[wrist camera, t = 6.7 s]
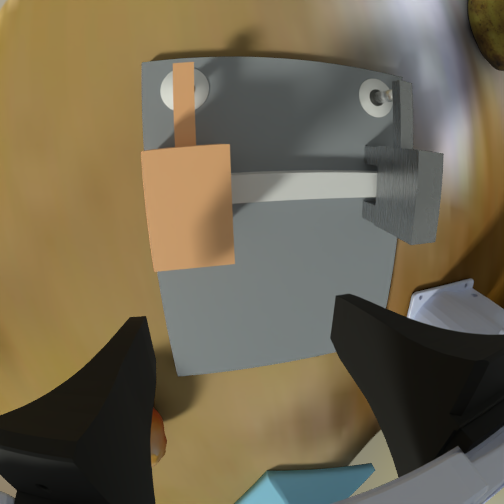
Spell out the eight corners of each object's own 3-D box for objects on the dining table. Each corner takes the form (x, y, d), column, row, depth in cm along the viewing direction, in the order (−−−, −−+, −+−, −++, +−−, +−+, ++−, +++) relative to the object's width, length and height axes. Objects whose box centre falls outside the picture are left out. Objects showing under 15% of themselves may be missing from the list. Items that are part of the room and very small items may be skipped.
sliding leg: (215, 74, 15) (227, 47, 10) (221, 229, 19) (235, 263, 14) (152, 79, 15) (138, 53, 10) (162, 235, 18) (154, 271, 13)
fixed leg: (387, 89, 18) (442, 81, 13) (384, 217, 21) (434, 242, 16) (363, 84, 17) (417, 73, 12) (361, 219, 21) (410, 244, 15)
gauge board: (394, 78, 18) (412, 75, 16) (373, 335, 26) (386, 349, 24) (144, 66, 15) (138, 57, 13) (177, 368, 23) (178, 387, 21)
